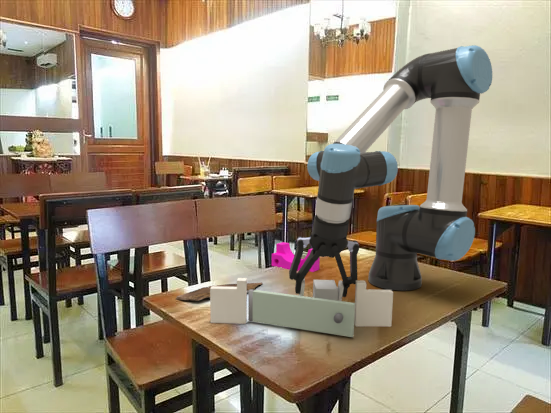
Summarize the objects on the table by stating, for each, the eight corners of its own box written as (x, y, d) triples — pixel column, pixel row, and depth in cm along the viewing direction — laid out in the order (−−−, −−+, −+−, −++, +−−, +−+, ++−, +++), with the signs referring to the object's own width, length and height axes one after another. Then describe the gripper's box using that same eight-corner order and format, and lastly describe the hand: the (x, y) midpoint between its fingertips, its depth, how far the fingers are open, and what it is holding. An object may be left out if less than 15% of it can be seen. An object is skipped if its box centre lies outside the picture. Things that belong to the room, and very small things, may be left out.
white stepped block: (332, 311, 102) (333, 279, 101) (340, 332, 90) (341, 296, 89) (312, 311, 102) (313, 279, 101) (317, 332, 90) (318, 296, 89)
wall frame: (389, 323, 95) (391, 281, 94) (391, 327, 93) (393, 283, 92) (211, 319, 96) (211, 277, 95) (210, 323, 94) (210, 280, 93)
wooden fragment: (183, 304, 103) (183, 300, 103) (171, 294, 113) (170, 291, 113) (273, 289, 116) (273, 285, 116) (255, 281, 126) (255, 278, 126)
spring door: (353, 334, 88) (354, 302, 87) (351, 339, 85) (353, 307, 84) (249, 318, 96) (249, 289, 95) (245, 322, 93) (245, 292, 92)
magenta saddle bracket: (271, 266, 141) (271, 245, 140) (282, 263, 146) (282, 242, 145) (308, 275, 132) (309, 252, 131) (319, 270, 137) (319, 248, 136)
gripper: (376, 214, 94) (359, 300, 102) (283, 206, 93) (274, 293, 101) (384, 227, 87) (366, 319, 95) (283, 219, 86) (274, 312, 94)
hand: (318, 306), depth 98 cm, fingers open, 8 cm apart
